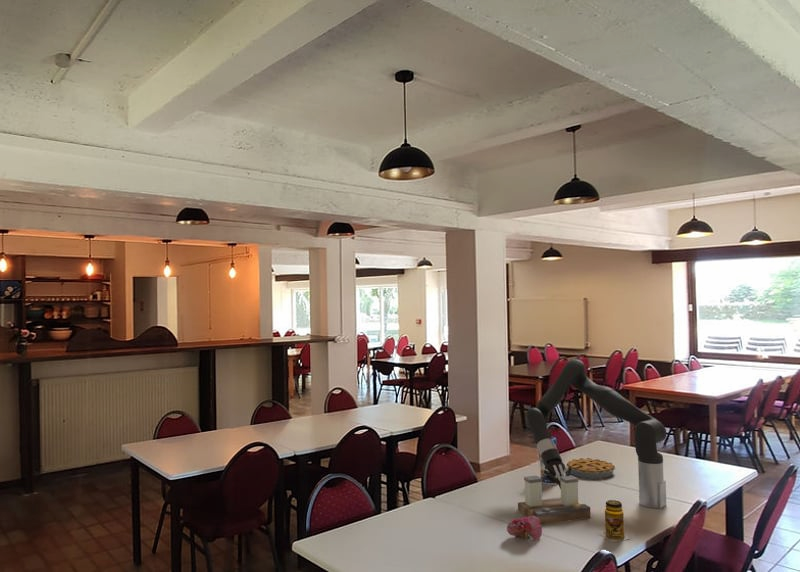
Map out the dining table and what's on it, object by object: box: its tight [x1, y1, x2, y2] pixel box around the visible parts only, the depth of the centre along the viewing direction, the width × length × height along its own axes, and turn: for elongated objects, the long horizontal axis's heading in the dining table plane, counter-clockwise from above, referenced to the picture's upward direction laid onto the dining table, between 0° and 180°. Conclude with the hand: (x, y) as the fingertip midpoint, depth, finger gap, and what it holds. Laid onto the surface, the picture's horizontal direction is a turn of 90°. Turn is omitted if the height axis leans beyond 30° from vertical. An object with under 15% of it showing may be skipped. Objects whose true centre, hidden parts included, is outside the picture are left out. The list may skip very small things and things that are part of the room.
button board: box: [517, 496, 591, 526], centre depth 223 cm, size 16×22×5 cm
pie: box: [565, 457, 616, 480], centre depth 275 cm, size 22×22×5 cm
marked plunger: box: [560, 475, 579, 506], centre depth 223 cm, size 4×5×10 cm
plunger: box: [523, 475, 543, 507], centre depth 224 cm, size 4×5×10 cm
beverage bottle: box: [539, 436, 558, 486], centre depth 262 cm, size 8×8×20 cm
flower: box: [506, 515, 543, 547], centre depth 199 cm, size 11×10×10 cm
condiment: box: [597, 499, 631, 543], centre depth 201 cm, size 7×8×12 cm
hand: (565, 491), depth 226 cm, fingers closed
